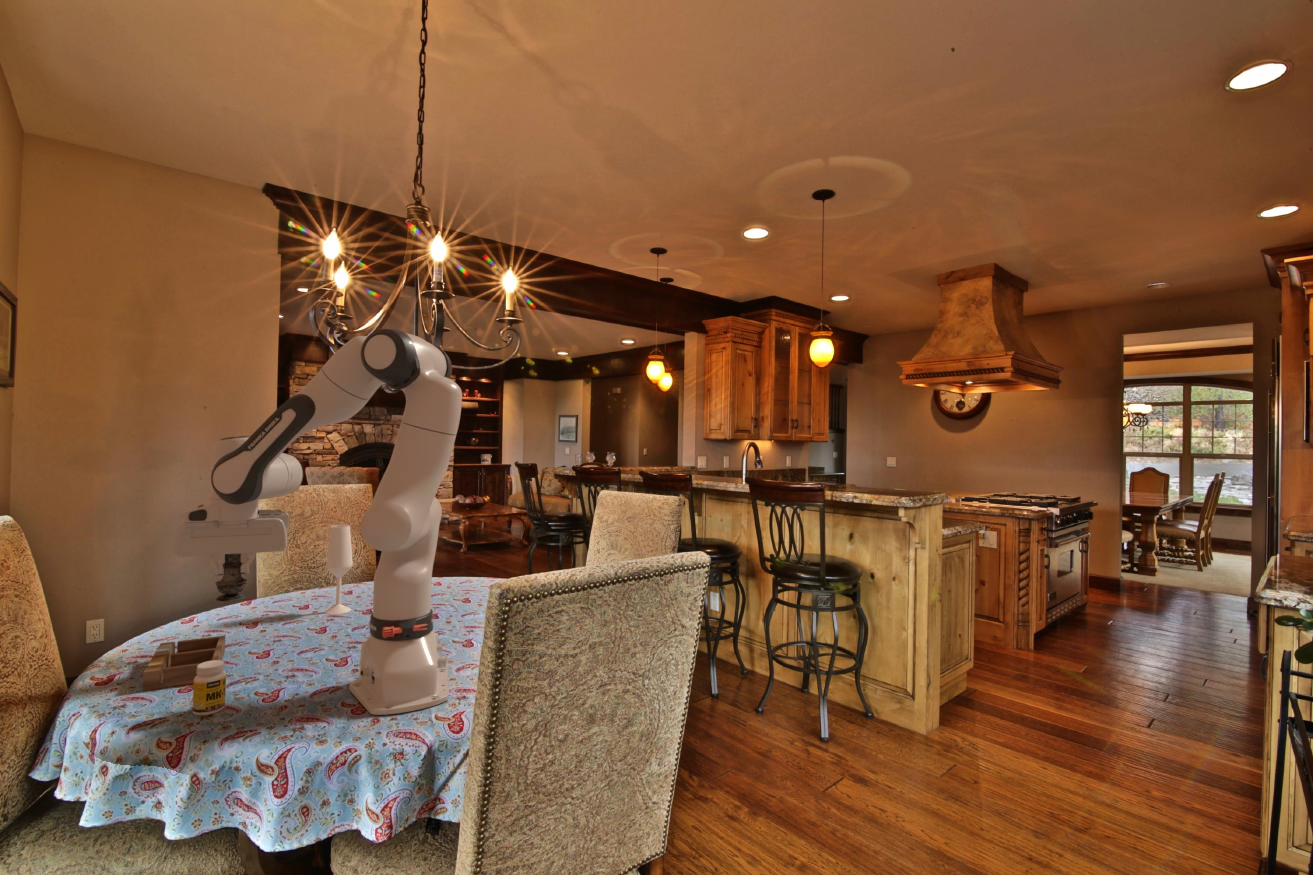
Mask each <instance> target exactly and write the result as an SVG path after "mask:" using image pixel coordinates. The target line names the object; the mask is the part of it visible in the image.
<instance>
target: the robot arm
mask: <svg viewBox="0 0 1313 875" xmlns="http://www.w3.org/2000/svg"><path fill="white" fill-rule="evenodd" d="M452 373H453V365H452V361H451V359H450V357H449V355H448V354H447V353H446V352H445V351H444V350H443V349H442V348H441V347H439V346H437V345H435V344H434V343H433V344H432V343H430V342H428V341H427V340H425V339H423V338H422V337H420V336H417V335H415V334H411V333H409V332H408V333H407V332H405V331H402V330H400V329H395V328H381V329H377V330H375V331H373V332H371V333H370V334H368V336H366V335H357V336H355V337H352V338H350V339H349V340H348V341H347V342H346V343H345V344H343V345H342V346H341V347H340V348H339V349H338V350H336V352H335V353H334V354H333V355H332V356H330V358H329V359H328V360H327V361H326V362H325V364H324V365H323V366H322V367H321V368H320V370H319V371H318V372H317V373H316V374H315V375H314V376H313V377H312V378H311V379H310V380H309V382H307V384H306V385H304V386H303V387H302V388H301V389H300V390H299V391H298V392H296V394H294V395H292V396H291V397H290V398H289V399H287V400H286V401H285V402H283V403H282V404H281V405H280V406H279V407H278V408H277V409H276V410H275V411H274V412H272V414H270V416H268V417H267V419H266V420H264V421H263V423H262V424H261V425H260V426H258V428H257V429H256V430H255V431H254V432H253V433H252V434H251V435H241V436H229V437H224V438H221V439H219V440H217V441H216V442H215V444H214V446H213V448H212V453H211V456H210V466H209V468H210V469H209V470H210V471H209V478H210V483H211V490H210V494H209V498H208V499H209V500H208V501H209V502H208V503H205V504H200V505H198V506H193V507H190V508H187V509H186V510H184V511H183V512H182V514H181V520H182V523H181V524H179V526H178V527H177V528H176V531H175V535H174V539H173V546H172V547H173V548H172V553H173V555H174V556H175V557H177V558H184V557H201V556H203V557H205V556H208V562H209V563H210V564H211V566H212V567H213V569H214V577H215V576H216V577H218V576H223V575H224V566H222V565H219V563H218V562H217V560H218V558H219V556H220V555H225V554H241V555H242V554H246V557H247V559H248V560H247V562H246V563H245V564H242V565H241V571H240V574H241V575H244V574H245V575H246V574H247V575H248V574H250V565H251V564H252V563H253V561H254V560H255V558H256V553H258V554H259V553H274V552H283V551H284V550H285V549H287V547H288V533H287V529H288V528H289V526H290V520H291V517H290V515H289V513H288V512H286V511H284V510H282V509H259V504H260V503H259V501H260V500H266V499H267V500H268V499H273V498H279V497H284V496H288V495H290V494H291V495H292V494H293V493H295V492H296V491H297V490H299V488H300V487H301V486H302V482H303V479H304V470H303V466H302V464H301V462H300V460H299V459H298V458H297V457H296V456H294V455H292V454H289V453H284V452H285V451H286V450H287V448H288V447H290V445H291V444H293V442H294V441H296V439H298V438H299V437H300V436H302V435H304V434H306V433H308V432H310V431H313V430H317V429H319V428H322V427H325V426H329V425H335V424H339V423H344V422H346V421H348V420H350V419H351V418H353V417H354V416H355V415H356V414H357V413H359V412H360V411H361V410H362V409H363V408H364V407H365V405H366V404H367V403H368V402H369V401H370V399H371V398H372V397H373V395H374V394H375V393H376V392H377V391H378V389H379V388H380V387H381V386H383V385H384V384H386V386H388V387H390V388H391V389H393V390H394V391H399V390H401V391H402V392H403V394H404V396H405V406H404V411H403V414H402V418H401V422H400V425H399V429H398V431H397V432H398V433H397V436H396V440H395V443H394V447H393V450H392V454H391V458H390V459H389V463H388V466H387V467H386V470H385V472H384V474H383V476H382V478H381V480H380V482H379V484H378V486H377V489H376V491H375V493H374V496H373V499H372V501H371V503H370V505H369V507H368V508H367V510H365V513H364V514H363V516H362V518H361V521H360V534H361V536H362V538H363V540H364V541H365V543H366V544H367V545H368V546H369V547H370V548H372V549H374V550H376V551H380V552H381V553H380V558H379V562H378V565H377V566H376V567H377V568H376V570H375V572H374V577H373V592H372V593H373V595H372V597H373V598H372V599H373V602H372V613H371V614H370V619H369V633H370V635H369V637H368V638H367V639H366V640H365V641H364V642H363V643H362V644H361V646H360V659H359V660H360V661H359V676H358V678H357V679H355V680H353V681H351V682H350V683H349V687H348V690H349V691H350V692H351V693H352V694H353V696H354V697H355V698H356V699H357V700H358V701H359V703H360V704H361V705H362V706H363V707H364V709H366V710H367V712H368V713H369V714H371V715H379V716H382V715H385V716H387V715H394V714H401V713H402V714H403V713H408V712H414V711H418V710H422V709H423V710H424V709H426V708H430V707H435V706H436V705H439V704H442V703H444V702H446V701H448V700H449V699H450V693H449V692H450V691H449V690H450V689H449V688H450V687H449V672H448V667H447V656H446V655H441V656H440V655H439V656H438V653H440V652H443V644H438V640H439V634H438V633H437V632H435V631H434V614H433V613H434V612H433V609H432V607H431V606H432V605H431V604H432V583H433V580H432V578H433V569H434V563H435V557H436V551H437V545H438V540H439V531H440V525H441V522H442V517H443V507H442V505H441V502H440V501H439V499H438V498H437V497H436V494H437V492H438V489H439V488H440V485H441V483H442V480H443V479H444V477H445V475H446V474H447V471H448V469H449V468H448V467H449V465H450V460H451V456H452V453H453V449H454V445H455V442H456V437H457V433H458V430H459V426H460V420H461V414H462V413H461V412H462V405H463V403H462V402H463V391H462V388H461V387H460V385H458V384H457V382H455V381H454V380H452V379H451V378H452Z"/></svg>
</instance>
